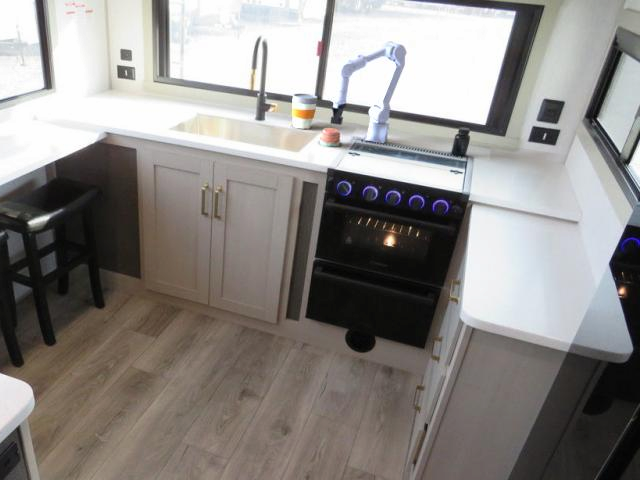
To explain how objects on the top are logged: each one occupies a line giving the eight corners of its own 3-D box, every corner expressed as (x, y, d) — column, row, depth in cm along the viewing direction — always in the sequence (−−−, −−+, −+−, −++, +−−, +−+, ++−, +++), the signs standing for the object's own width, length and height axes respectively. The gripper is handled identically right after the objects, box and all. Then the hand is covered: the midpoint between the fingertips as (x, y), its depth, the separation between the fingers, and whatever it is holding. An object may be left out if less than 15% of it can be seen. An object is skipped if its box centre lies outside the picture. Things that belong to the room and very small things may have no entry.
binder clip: (342, 123, 272) (343, 116, 270) (340, 124, 269) (341, 117, 268) (331, 121, 273) (332, 114, 271) (330, 123, 271) (331, 116, 269)
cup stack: (341, 142, 276) (343, 129, 272) (336, 148, 268) (338, 134, 265) (322, 139, 278) (324, 126, 275) (317, 144, 271) (319, 131, 268)
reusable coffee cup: (300, 122, 303) (303, 92, 295) (318, 127, 295) (322, 97, 288) (284, 125, 295) (287, 94, 287) (303, 130, 287) (307, 99, 280)
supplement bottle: (465, 153, 272) (472, 127, 265) (465, 157, 266) (472, 131, 260) (450, 151, 274) (457, 125, 267) (450, 155, 268) (456, 129, 262)
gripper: (336, 86, 270) (332, 115, 277) (328, 92, 259) (324, 122, 266) (351, 88, 268) (346, 117, 275) (343, 94, 257) (339, 125, 264)
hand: (336, 120), depth 271 cm, fingers closed on binder clip, 3 cm apart
